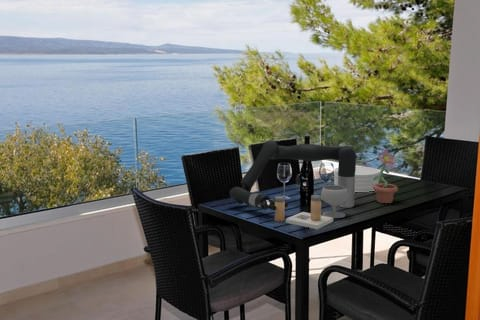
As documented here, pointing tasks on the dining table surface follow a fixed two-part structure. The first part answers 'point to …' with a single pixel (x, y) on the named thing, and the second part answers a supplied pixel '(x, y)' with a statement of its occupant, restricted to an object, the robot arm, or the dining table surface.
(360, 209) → the dining table surface
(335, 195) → the chalice
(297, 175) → the pneumatic valve
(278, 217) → the grey-capped tan peg
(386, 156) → the decorative flower
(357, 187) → the plate stack
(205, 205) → the dining table surface
